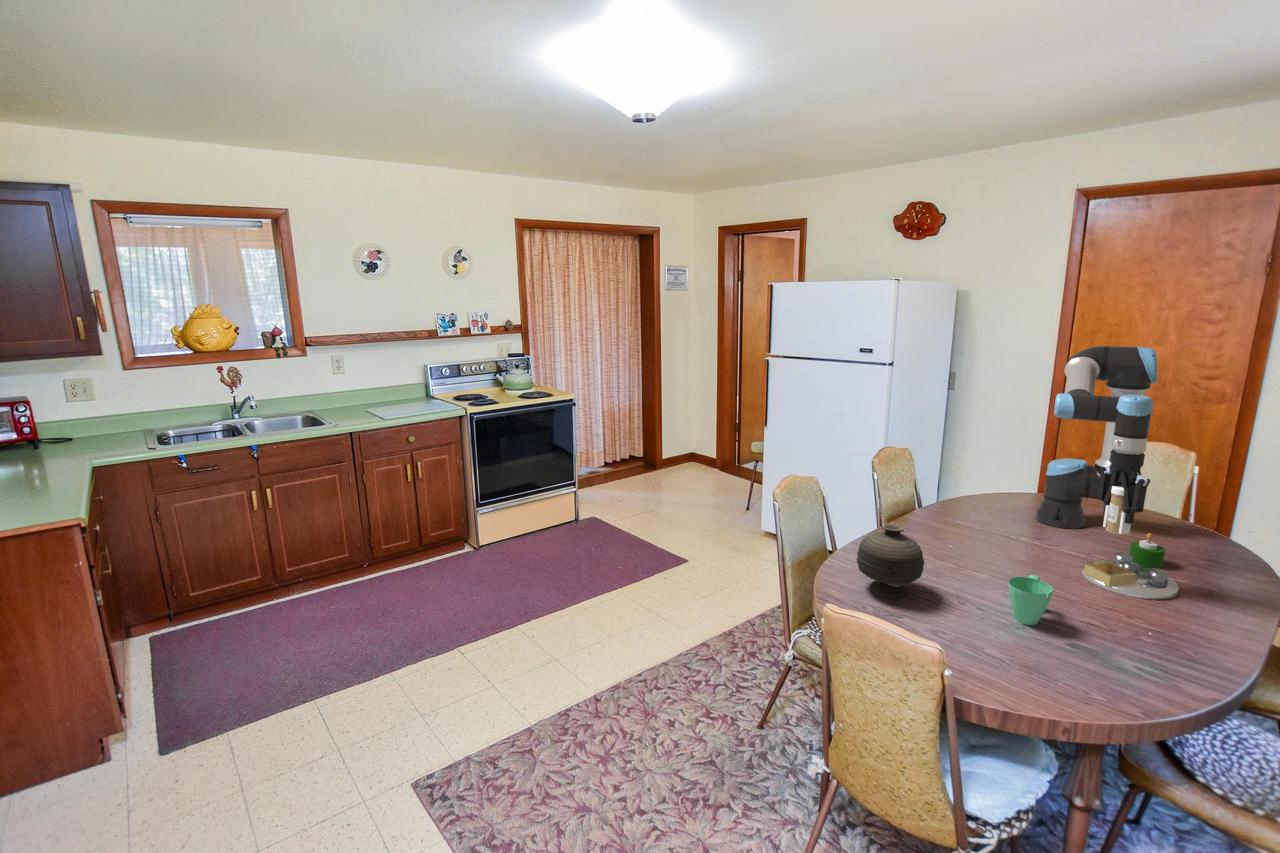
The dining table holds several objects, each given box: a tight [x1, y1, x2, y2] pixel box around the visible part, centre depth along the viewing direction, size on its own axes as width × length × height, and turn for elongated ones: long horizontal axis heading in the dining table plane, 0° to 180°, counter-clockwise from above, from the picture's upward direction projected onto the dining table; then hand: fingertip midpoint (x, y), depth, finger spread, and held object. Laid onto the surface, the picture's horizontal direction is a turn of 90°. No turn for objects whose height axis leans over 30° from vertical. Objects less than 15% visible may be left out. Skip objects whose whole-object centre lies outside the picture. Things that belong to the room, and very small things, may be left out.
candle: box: [1128, 532, 1166, 569], centre depth 191 cm, size 8×8×10 cm
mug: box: [1007, 574, 1054, 626], centre depth 162 cm, size 15×10×10 cm
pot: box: [856, 522, 925, 600], centre depth 177 cm, size 18×18×20 cm
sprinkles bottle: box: [1105, 486, 1125, 536], centre depth 175 cm, size 5×5×14 cm
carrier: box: [1081, 551, 1179, 601], centre depth 180 cm, size 22×22×6 cm
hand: (1116, 529), depth 177 cm, fingers closed on sprinkles bottle, 4 cm apart
